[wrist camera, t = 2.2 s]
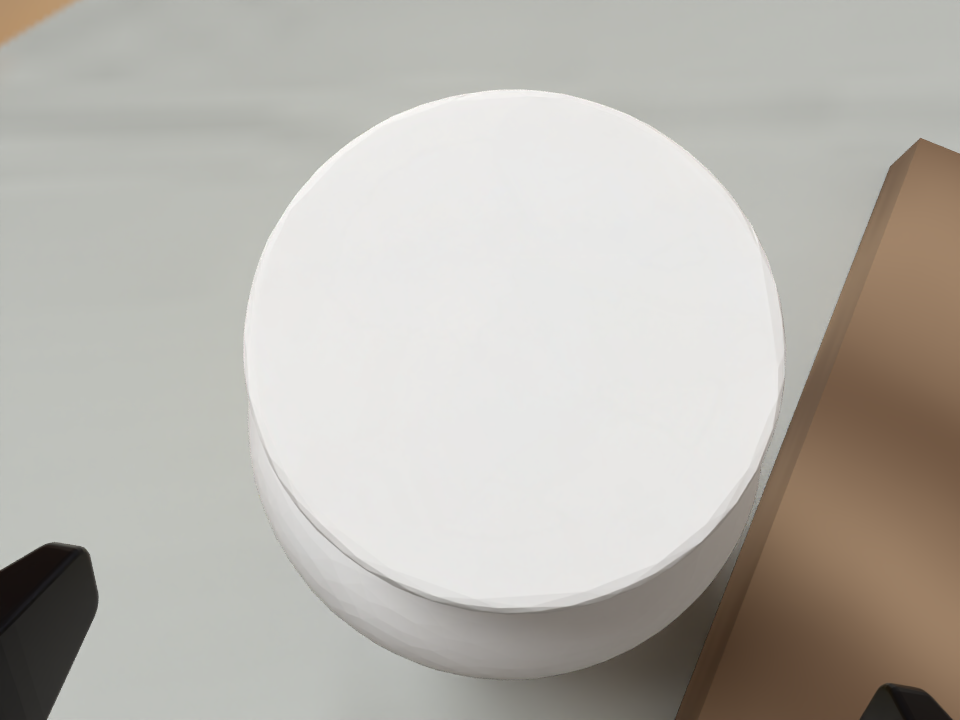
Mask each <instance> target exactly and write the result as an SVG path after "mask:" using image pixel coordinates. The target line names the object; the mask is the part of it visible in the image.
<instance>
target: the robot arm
mask: <svg viewBox="0 0 960 720" xmlns="http://www.w3.org/2000/svg"><path fill="white" fill-rule="evenodd" d="M98 598H99V597H98V590H97V585H96V581H95V576H94V572H93V567H92V562H91V558H90V554H89V552H88V551H87V550H86V549H85V548H84V547H81V546H76V545H70V544H64V543H57V542H52V543H48V544H45V545H43V546H41V547H39V548H37V549H36V550H34V551H32V552H31V553H29V554H27V555H25V556H24V557H22V558H20V559H19V560H17V561H15V562H14V563H12V564H10V565H8V566H7V567H5V568H3V569H2V570H0V720H47V718H48V716H49V714H50V712H51V710H52V708H53V705H54V703H55V701H56V699H57V697H58V695H59V693H60V690H61V688H62V686H63V684H64V682H65V680H66V677H67V675H68V673H69V671H70V669H71V667H72V664H73V662H74V660H75V658H76V656H77V654H78V651H79V649H80V647H81V645H82V643H83V641H84V638H85V636H86V634H87V632H88V630H89V628H90V625H91V623H92V621H93V619H94V617H95V614H96V611H97V607H98ZM859 720H953V719H952V718H951V717H950V716H949V715H948V713H947V712H946V711H945V710H944V709H943V708H942V707H941V706H940V705H939V704H938V703H937V701H936V700H935V699H934V698H933V697H932V696H931V695H930V694H928V693H927V692H926V691H925V690H923V689H921V688H917V687H913V686H907V685H901V684H895V683H885V684H883V685H881V686H880V687H879V688H878V690H877V691H876V693H875V694H874V696H873V698H872V699H871V701H870V703H869V704H868V706H867V708H866V709H865V711H864V713H863V714H862V716H861V718H860V719H859Z"/></svg>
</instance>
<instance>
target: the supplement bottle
mask: <svg viewBox="0 0 960 720" xmlns="http://www.w3.org/2000/svg"><path fill="white" fill-rule="evenodd" d="M785 359H786V343H785V331H784V323H783V316H782V309H781V302H780V298H779V294H778V291H777V287H776V284H775V280H774V277H773V274H772V271H771V267H770V264H769V261H768V258H767V256H766V254H765V252H764V249H763V247H762V245H761V243H760V241H759V239H758V237H757V235H756V233H755V231H754V229H753V227H752V225H751V223H750V221H749V220H748V219H747V217H746V216H745V214H744V213H743V211H742V210H741V208H740V207H739V205H738V204H737V202H736V201H735V200H734V198H733V197H732V196H731V194H730V193H729V192H728V191H727V189H726V188H725V187H724V186H723V185H722V184H721V183H720V181H719V180H718V179H717V178H716V177H715V176H714V175H713V174H712V173H711V172H710V171H709V170H708V169H707V168H706V167H705V166H704V165H703V164H702V163H700V162H699V161H698V160H697V159H696V158H695V157H694V156H692V155H691V154H690V153H689V152H688V151H686V150H685V149H684V148H682V147H681V146H680V145H679V144H677V143H676V142H675V141H673V140H672V139H670V138H669V137H667V136H666V135H664V134H663V133H661V132H660V131H658V130H656V129H655V128H653V127H652V126H650V125H648V124H646V123H644V122H642V121H640V120H638V119H636V118H634V117H632V116H630V115H628V114H626V113H623V112H620V111H618V110H615V109H613V108H610V107H608V106H605V105H602V104H599V103H596V102H592V101H589V100H585V99H581V98H577V97H574V96H570V95H566V94H560V93H552V92H544V91H534V90H493V91H483V92H477V93H468V94H462V95H457V96H452V97H447V98H444V99H440V100H437V101H433V102H430V103H426V104H423V105H420V106H418V107H415V108H413V109H410V110H407V111H405V112H402V113H399V114H396V115H394V116H392V117H390V118H389V119H387V120H385V121H383V122H381V123H379V124H378V125H376V126H374V127H372V128H371V129H369V130H368V131H366V132H364V133H363V134H361V135H360V136H358V137H357V138H355V139H354V140H352V141H351V142H349V143H348V144H347V145H346V146H344V147H343V148H342V149H341V150H340V151H338V152H337V153H336V154H335V155H333V156H332V157H331V158H330V159H329V160H328V161H327V162H325V163H324V164H323V165H322V166H321V167H320V168H319V169H318V170H317V171H316V172H315V173H314V174H313V176H312V177H311V178H310V179H309V180H308V181H307V183H306V184H305V185H304V186H303V187H302V188H301V189H300V191H299V192H298V193H297V194H296V196H295V197H294V199H293V200H292V201H291V203H290V204H289V206H288V207H287V209H286V210H285V212H284V213H283V215H282V217H281V218H280V220H279V222H278V223H277V225H276V227H275V228H274V230H273V232H272V233H271V235H270V236H269V238H268V240H267V243H266V245H265V248H264V250H263V253H262V255H261V258H260V261H259V264H258V267H257V270H256V273H255V276H254V279H253V283H252V287H251V292H250V296H249V300H248V306H247V312H246V319H245V325H244V350H243V363H244V375H245V384H246V390H247V395H248V400H249V409H248V432H249V446H250V455H251V462H252V468H253V473H254V479H255V484H256V487H257V490H258V493H259V496H260V499H261V503H262V506H263V509H264V511H265V514H266V516H267V518H268V520H269V523H270V525H271V527H272V530H273V532H274V534H275V537H276V538H277V540H278V542H279V544H280V545H281V547H282V549H283V550H284V552H285V554H286V556H287V557H288V559H289V561H290V562H291V563H292V565H293V566H294V568H295V569H296V570H297V572H298V573H299V574H300V576H301V577H302V578H303V580H304V581H305V582H306V584H307V585H308V587H309V588H310V589H311V591H312V592H313V593H314V594H315V595H316V596H317V597H318V598H319V599H320V600H321V601H322V602H323V603H324V604H325V605H326V606H327V607H328V608H329V609H330V610H331V611H332V612H333V613H335V614H336V615H337V616H338V617H340V618H341V619H342V620H343V621H345V622H346V623H347V624H348V625H350V626H351V627H352V628H354V629H355V630H356V631H358V632H359V633H361V634H362V635H364V636H365V637H367V638H368V639H370V640H371V641H373V642H374V643H376V644H377V645H379V646H381V647H383V648H385V649H387V650H389V651H391V652H393V653H395V654H397V655H400V656H402V657H404V658H407V659H409V660H411V661H414V662H416V663H418V664H421V665H423V666H426V667H429V668H432V669H435V670H439V671H444V672H448V673H453V674H457V675H462V676H468V677H473V678H483V679H496V680H524V679H535V678H543V677H550V676H555V675H560V674H565V673H569V672H573V671H577V670H580V669H584V668H587V667H590V666H593V665H596V664H599V663H602V662H605V661H607V660H609V659H611V658H613V657H616V656H618V655H620V654H622V653H624V652H626V651H629V650H631V649H633V648H634V647H636V646H637V645H639V644H641V643H642V642H644V641H645V640H647V639H649V638H650V637H652V636H653V635H655V634H656V633H658V632H659V631H661V630H662V629H664V628H665V627H666V626H667V625H669V624H670V623H671V622H672V621H674V620H675V619H676V618H677V617H678V616H679V615H681V614H682V613H683V612H684V611H685V610H686V609H687V608H688V607H689V606H690V605H691V604H692V603H693V602H694V601H695V600H696V599H697V598H698V597H699V596H700V595H701V594H702V593H703V592H704V591H705V589H706V588H707V587H708V586H709V585H710V584H711V582H712V581H713V579H714V578H715V577H716V575H717V574H718V572H719V571H720V570H721V568H722V567H723V565H724V564H725V562H726V561H727V559H728V557H729V556H730V554H731V552H732V551H733V549H734V547H735V546H736V544H737V542H738V540H739V538H740V536H741V533H742V531H743V529H744V527H745V525H746V522H747V519H748V517H749V514H750V511H751V508H752V506H753V503H754V499H755V495H756V491H757V488H758V482H759V476H760V471H761V465H762V463H763V460H764V458H765V455H766V453H767V450H768V448H769V445H770V443H771V440H772V438H773V435H774V431H775V427H776V424H777V420H778V416H779V413H780V407H781V401H782V396H783V390H784V379H785Z"/></svg>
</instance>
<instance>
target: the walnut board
mask: <svg viewBox="0 0 960 720" xmlns="http://www.w3.org/2000/svg"><path fill="white" fill-rule="evenodd" d="M885 683H895V684H901V685H907V686H913V687H917V688H921V689H923V690H925V691H926V692H927V693H928V694H930V695H931V696H932V697H933V698H934V699H935V700H936V701H937V703H938V704H939V705H940V706H941V707H942V708H943V709H944V710H945V711H946V712H947V713H948V715H949V716H950V717H951V718H952V719H953V720H960V154H959V153H957V152H954V151H952V150H949V149H947V148H944V147H942V146H939V145H937V144H934V143H932V142H929V141H927V140H924V139H922V138H920V139H919V140H918V141H917V142H916V143H915V144H913V145H912V146H911V147H910V148H909V149H908V150H907V151H906V152H905V153H904V154H903V155H902V156H901V157H900V158H899V159H898V160H897V161H896V162H894V163H893V164H892V165H891V166H890V168H889V171H888V173H887V176H886V178H885V181H884V184H883V186H882V189H881V191H880V194H879V196H878V199H877V202H876V204H875V207H874V209H873V212H872V214H871V217H870V220H869V222H868V225H867V227H866V230H865V232H864V235H863V238H862V240H861V243H860V245H859V248H858V250H857V253H856V256H855V258H854V261H853V263H852V266H851V268H850V271H849V274H848V276H847V279H846V281H845V284H844V286H843V289H842V292H841V294H840V297H839V299H838V302H837V304H836V307H835V310H834V312H833V315H832V317H831V320H830V322H829V325H828V327H827V330H826V333H825V335H824V338H823V340H822V343H821V345H820V348H819V351H818V353H817V356H816V358H815V361H814V363H813V366H812V369H811V371H810V374H809V376H808V379H807V381H806V384H805V387H804V389H803V392H802V394H801V397H800V399H799V402H798V405H797V407H796V410H795V412H794V415H793V417H792V420H791V423H790V425H789V428H788V430H787V433H786V435H785V438H784V441H783V443H782V446H781V448H780V451H779V453H778V456H777V459H776V461H775V464H774V466H773V469H772V471H771V474H770V477H769V479H768V482H767V484H766V487H765V489H764V492H763V495H762V497H761V500H760V502H759V505H758V507H757V510H756V513H755V515H754V518H753V520H752V523H751V525H750V528H749V531H748V533H747V536H746V538H745V541H744V543H743V546H742V549H741V551H740V554H739V556H738V559H737V561H736V564H735V567H734V569H733V572H732V574H731V577H730V579H729V582H728V585H727V587H726V590H725V592H724V595H723V597H722V600H721V603H720V605H719V608H718V610H717V613H716V615H715V618H714V621H713V623H712V626H711V628H710V631H709V633H708V636H707V639H706V641H705V644H704V646H703V649H702V651H701V654H700V657H699V659H698V662H697V664H696V667H695V669H694V672H693V675H692V677H691V680H690V682H689V685H688V687H687V690H686V693H685V695H684V698H683V700H682V703H681V705H680V708H679V710H678V713H677V716H676V718H675V720H859V719H860V718H861V716H862V714H863V713H864V711H865V709H866V708H867V706H868V704H869V703H870V701H871V699H872V698H873V696H874V694H875V693H876V691H877V690H878V688H879V687H880V686H881V685H883V684H885Z"/></svg>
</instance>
